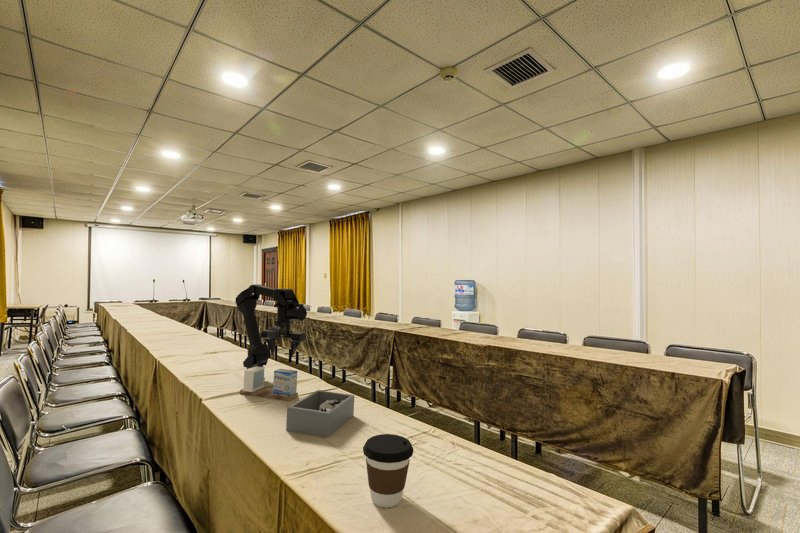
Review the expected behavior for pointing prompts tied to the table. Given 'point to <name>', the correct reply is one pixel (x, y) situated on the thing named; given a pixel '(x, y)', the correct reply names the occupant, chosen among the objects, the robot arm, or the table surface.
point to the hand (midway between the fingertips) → (282, 355)
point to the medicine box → (285, 382)
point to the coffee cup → (387, 467)
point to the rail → (269, 394)
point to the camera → (329, 405)
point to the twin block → (253, 378)
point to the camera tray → (319, 414)
